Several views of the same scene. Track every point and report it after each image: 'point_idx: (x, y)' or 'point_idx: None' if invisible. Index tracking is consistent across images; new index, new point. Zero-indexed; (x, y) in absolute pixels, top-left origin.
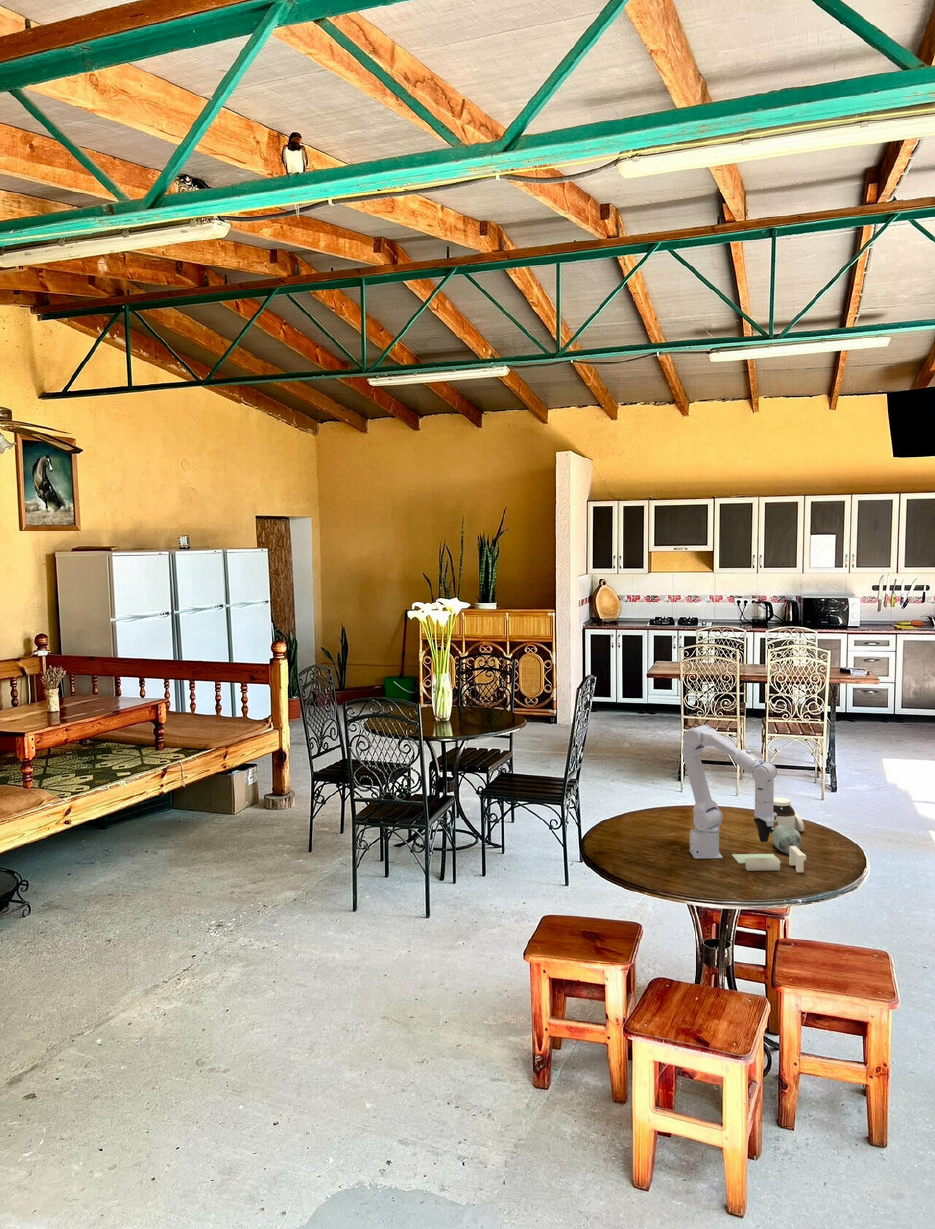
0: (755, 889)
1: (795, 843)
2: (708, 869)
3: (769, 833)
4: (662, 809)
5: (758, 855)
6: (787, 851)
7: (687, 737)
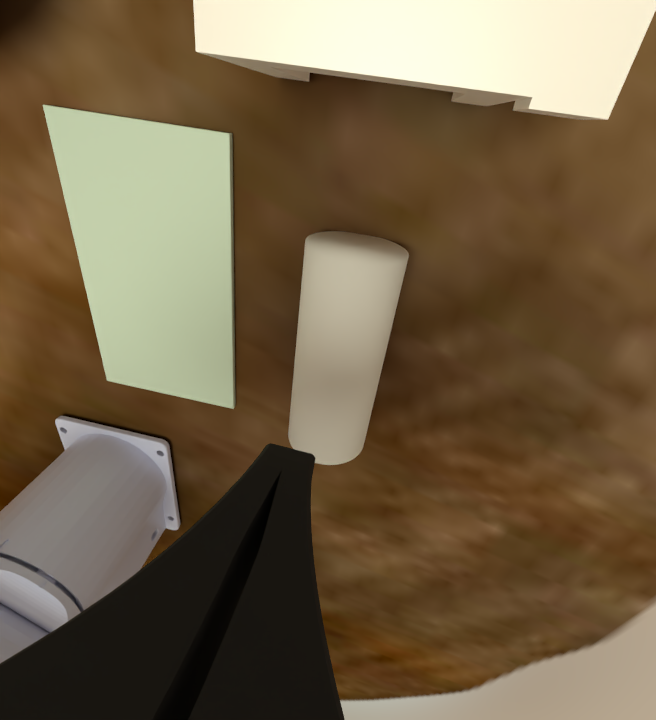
0: (614, 507)
1: None
2: None
3: (311, 551)
4: None
5: (100, 243)
6: None
7: None
